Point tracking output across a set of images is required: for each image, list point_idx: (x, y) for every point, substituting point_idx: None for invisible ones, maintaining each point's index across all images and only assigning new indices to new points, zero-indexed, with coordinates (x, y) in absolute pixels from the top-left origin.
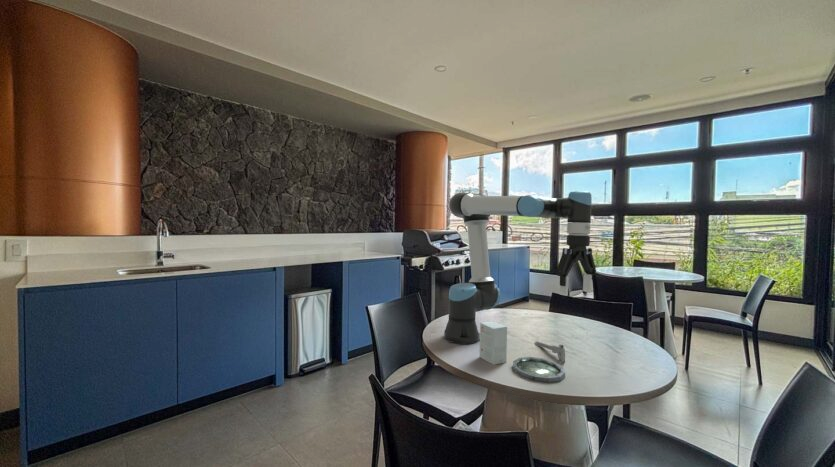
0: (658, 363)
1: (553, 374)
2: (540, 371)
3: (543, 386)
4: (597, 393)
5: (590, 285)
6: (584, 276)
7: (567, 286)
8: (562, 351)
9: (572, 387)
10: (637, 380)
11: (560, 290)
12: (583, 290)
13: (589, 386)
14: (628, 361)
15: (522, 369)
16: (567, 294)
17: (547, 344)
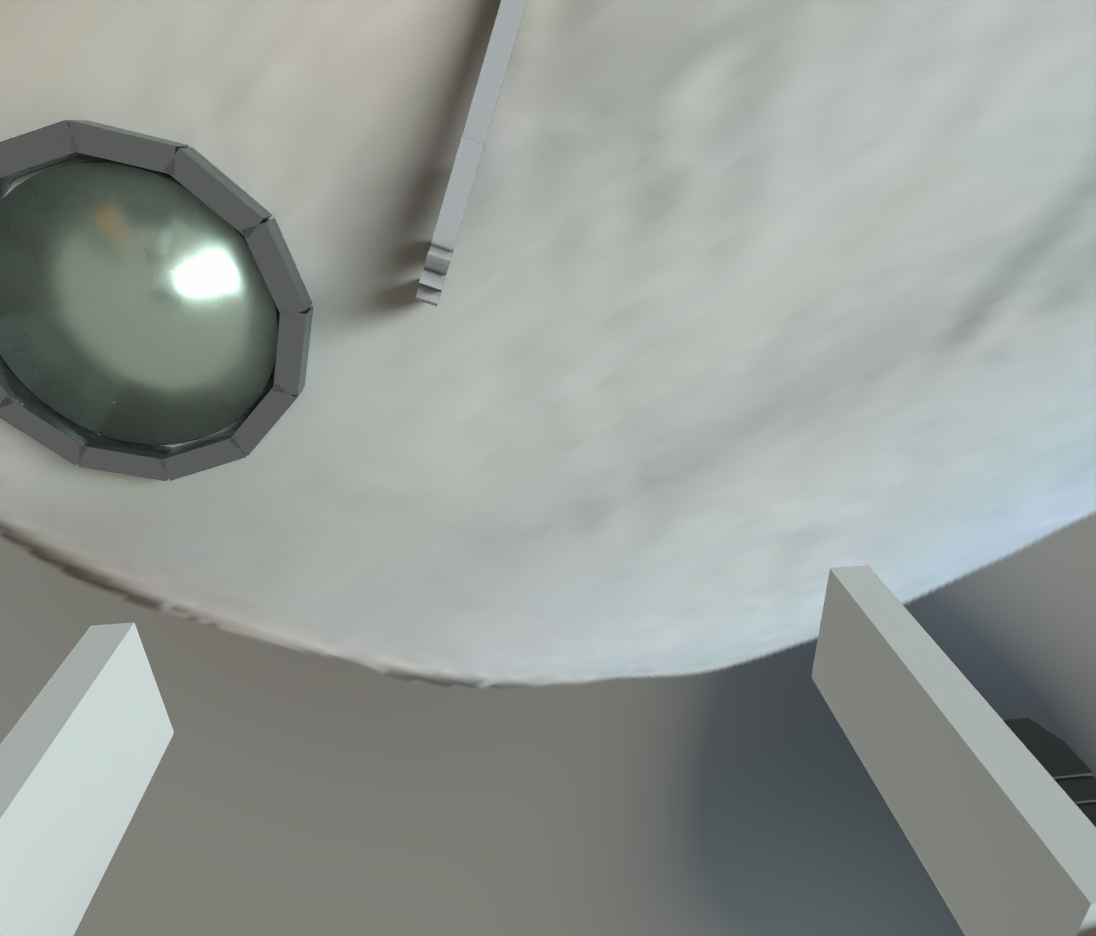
0: (948, 541)
1: (184, 413)
2: (124, 347)
3: (34, 472)
4: (278, 619)
5: (888, 780)
6: (1029, 848)
7: (69, 896)
8: (416, 298)
9: (199, 539)
10: (605, 612)
11: (52, 696)
12: (837, 587)
13: (301, 564)
14: (838, 458)
15: (6, 268)
16: (155, 750)
17: (505, 39)
